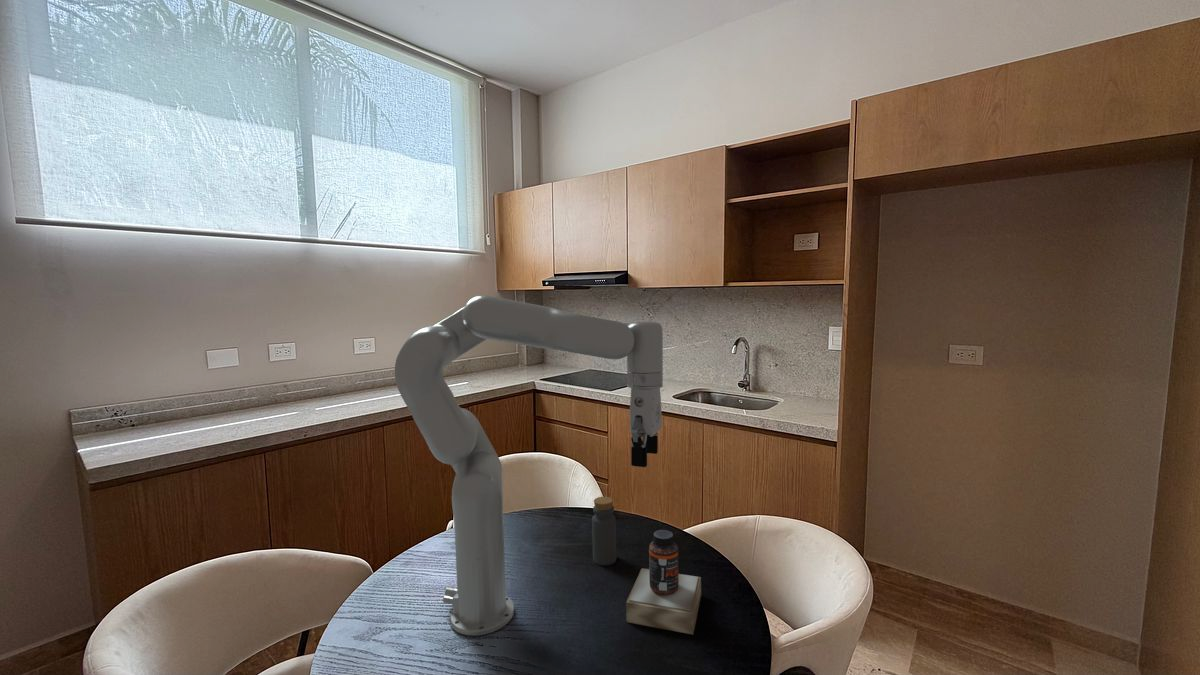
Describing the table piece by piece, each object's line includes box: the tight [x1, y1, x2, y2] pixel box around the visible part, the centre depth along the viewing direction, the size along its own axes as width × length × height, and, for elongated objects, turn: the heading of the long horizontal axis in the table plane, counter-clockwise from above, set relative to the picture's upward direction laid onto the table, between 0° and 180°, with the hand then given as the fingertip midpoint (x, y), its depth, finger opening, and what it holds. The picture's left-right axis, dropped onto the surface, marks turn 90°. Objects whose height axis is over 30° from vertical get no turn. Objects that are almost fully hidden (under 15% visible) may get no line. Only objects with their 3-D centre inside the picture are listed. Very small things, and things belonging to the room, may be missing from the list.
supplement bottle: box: [648, 529, 680, 595], centre depth 97 cm, size 6×6×11 cm
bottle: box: [591, 496, 617, 566], centre depth 117 cm, size 6×6×15 cm
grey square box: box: [625, 567, 702, 635], centre depth 98 cm, size 13×13×4 cm
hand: (645, 459), depth 102 cm, fingers open, 9 cm apart
